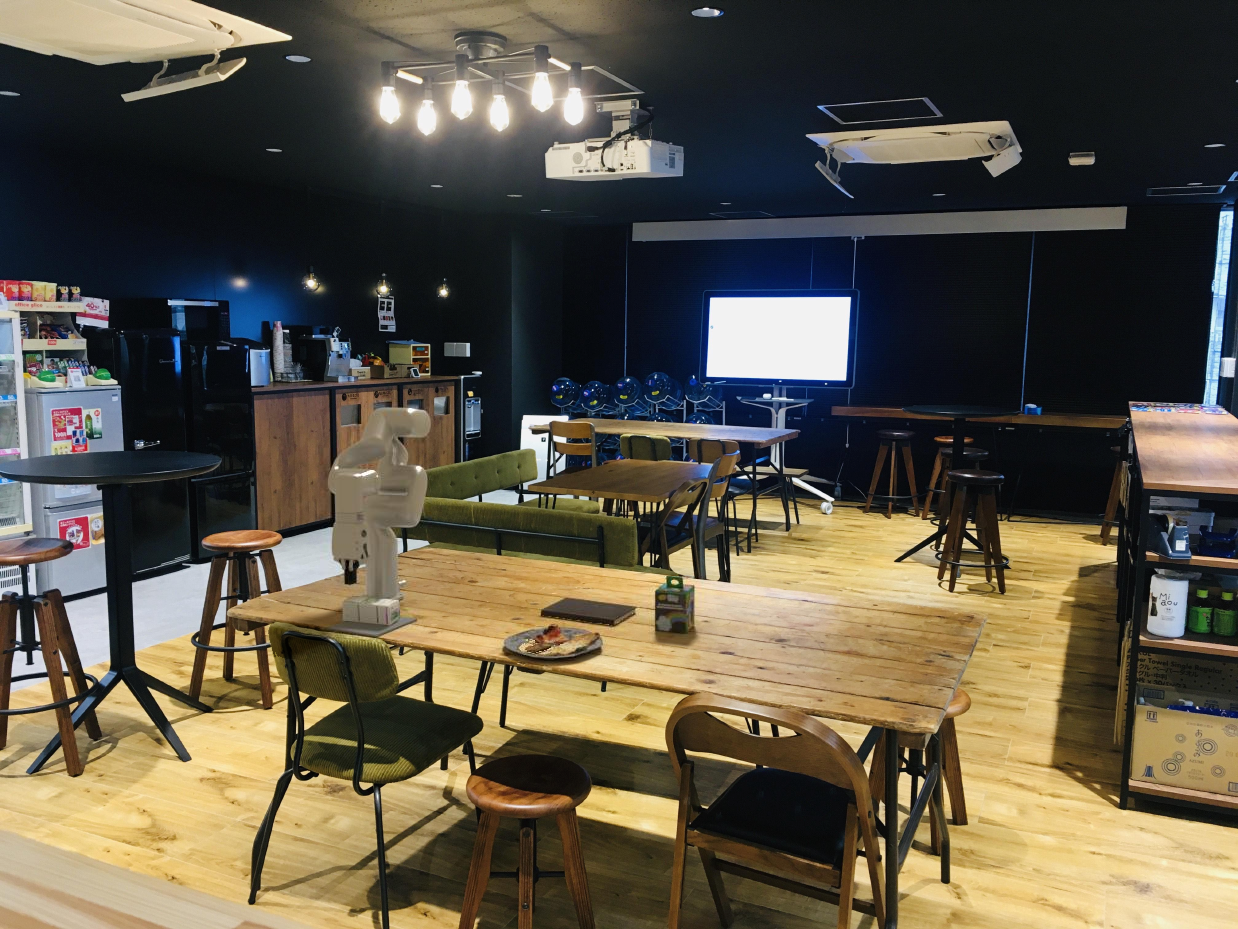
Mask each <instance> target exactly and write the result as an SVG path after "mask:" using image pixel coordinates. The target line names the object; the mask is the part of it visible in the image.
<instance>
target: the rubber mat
mask: <svg viewBox="0 0 1238 929" xmlns="http://www.w3.org/2000/svg"><path fill="white" fill-rule="evenodd" d="M415 622H418V618H415V617H410V616H409V617H407V616H402V615H400V619H398V620H397V621H395V622H394V623H393V624H391V625H381V624H371V623H360V622H351V621H343V622H342V621H341V622H339V623H336V624H334V625H331V626H329V627H327V630H330V631H335V632H341V633H347V634H355V635H362V636H366V637H373V638H379V637H380V636H382V635H385V634H388V633H391V632H392V631H395V630H398V629H400V628H403V627H405V626H407V625H409V624H412V623H415Z"/></svg>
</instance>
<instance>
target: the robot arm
mask: <svg viewBox="0 0 1238 929" xmlns="http://www.w3.org/2000/svg"><path fill="white" fill-rule="evenodd" d="M431 421H432V420H431V418H430V414H429V413H428V412H427V411H426V410H424V409H416V408H409V407H379V408H378V407H377V408H376V409H374V410H373V411H372V412H371V414H370V416H369V418H368V420H367V422H366V426H365V428H364V430H363V433H362V435H361V437H360V440H359V441H357V442H355V443H352V445H350V446H349V447H346V449H344V450H343V451H342V452H340V453H339V454H338V456H336V458H335V460H334V462H333V464H332V466H331V468H330V472H329V473H328V478H327V486H328V487H327V488H328V489H329V492H331V493H332V494H334V504H335V506H334V508H335V509H334V510H335V511H334V514H335V518H334V519H335V522H334V523H333V526H332V532H331V533H332V534H331V555H332V556H333V561H334V562H337V563H339V565H340V566H341V569H342V570H343V574H344V576H343V577H344V579H343V580H344V581H343V582H344V585H345V586H346V585H348V586H351V585H355V584H357V582H358V576H357V575H358V574H357V573H358V569H359V567H360V566H363V565H364V566H365V567H364V568H365V592H362V594H360V596H361V597H371V598H381V599H392V600H399V601H401V600H403V598H404V593H403V592H402V591H401V588H404V587H406V586H407V581H406V580H399V550H398V548H399V542H398V539H397V536H396V534H395V532H394V531H393V529H392V528H414V527H416V526H417V525H418V524H419V522H420V520H421V517H422V512H423V507H424V504H425V499H426V494H427V491H428V490H427V489H428V475H427V471H426V470H425V469H424V467H422V466H421V465H414V464H408V462H409V452H408V450H407V449H406V446H404V445H403V443H402V442H401V441H400V440H399V439H398V438H425V437H427V436H428V434H429V433H430V430H431V426H432V423H431ZM375 461H378V463H377V467H376V469H375V470H374V469H368V468H357V467H360V466H363V465H366V464H369V463H373V462H375ZM365 497H366V498H365Z"/></svg>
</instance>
